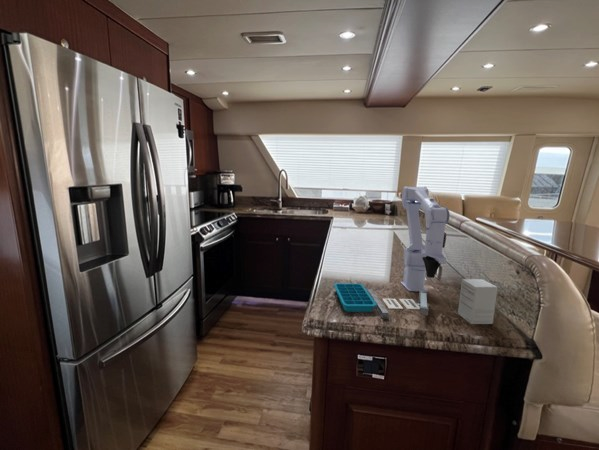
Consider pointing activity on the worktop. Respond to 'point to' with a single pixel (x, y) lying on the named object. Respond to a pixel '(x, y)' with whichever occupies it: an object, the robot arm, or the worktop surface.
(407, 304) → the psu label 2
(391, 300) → the psu label
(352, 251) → the worktop surface
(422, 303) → the bar
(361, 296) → the ice cube tray
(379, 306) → the rail
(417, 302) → the pivot base
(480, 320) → the supplement box
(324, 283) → the worktop surface
